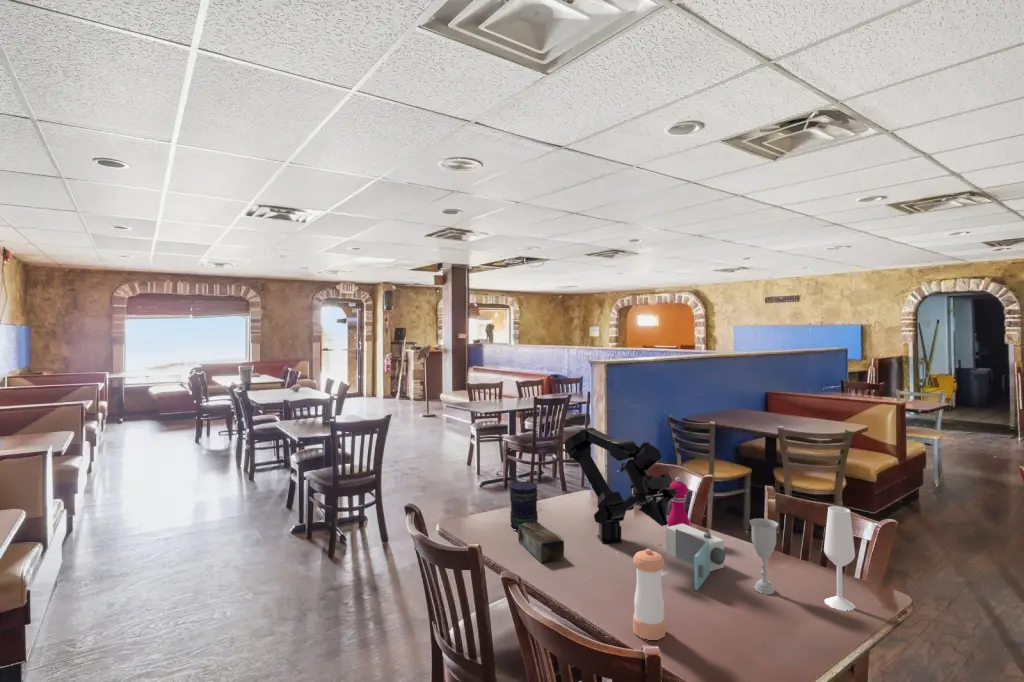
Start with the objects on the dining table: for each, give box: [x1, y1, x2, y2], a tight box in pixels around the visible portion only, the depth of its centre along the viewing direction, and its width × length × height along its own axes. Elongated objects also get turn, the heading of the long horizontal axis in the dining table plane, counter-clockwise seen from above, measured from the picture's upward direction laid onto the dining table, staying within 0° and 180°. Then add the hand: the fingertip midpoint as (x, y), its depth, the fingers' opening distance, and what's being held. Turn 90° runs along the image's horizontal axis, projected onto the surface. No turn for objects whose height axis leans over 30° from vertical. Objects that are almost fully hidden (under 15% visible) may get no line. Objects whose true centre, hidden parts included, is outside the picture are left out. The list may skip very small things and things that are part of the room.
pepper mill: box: [667, 476, 691, 527], centre depth 182 cm, size 7×7×20 cm
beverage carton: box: [517, 521, 565, 564], centre depth 171 cm, size 8×19×7 cm, turn 21°
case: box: [665, 523, 726, 572], centre depth 162 cm, size 18×7×9 cm, turn 28°
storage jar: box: [509, 481, 539, 530], centre depth 193 cm, size 10×10×15 cm
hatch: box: [693, 542, 711, 591], centre depth 148 cm, size 12×2×9 cm, turn 145°
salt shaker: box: [632, 548, 667, 639], centre depth 124 cm, size 7×7×19 cm
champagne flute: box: [823, 505, 856, 612], centre depth 135 cm, size 7×7×24 cm
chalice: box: [749, 517, 779, 595], centre depth 143 cm, size 7×7×18 cm
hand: (664, 525), depth 158 cm, fingers closed
